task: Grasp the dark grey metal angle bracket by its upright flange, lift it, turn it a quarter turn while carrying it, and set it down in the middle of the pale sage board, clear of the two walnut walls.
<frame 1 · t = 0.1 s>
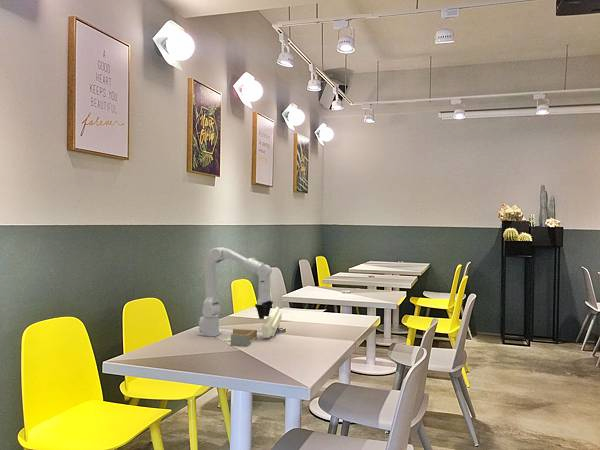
hand: (264, 317, 246), 10 cm above the table, tool pointing down, fingers open, 7 cm apart
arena: (240, 339, 243), on the table
angle bracket: (239, 345, 231), on the table
shelf bracket: (272, 335, 255), on the table
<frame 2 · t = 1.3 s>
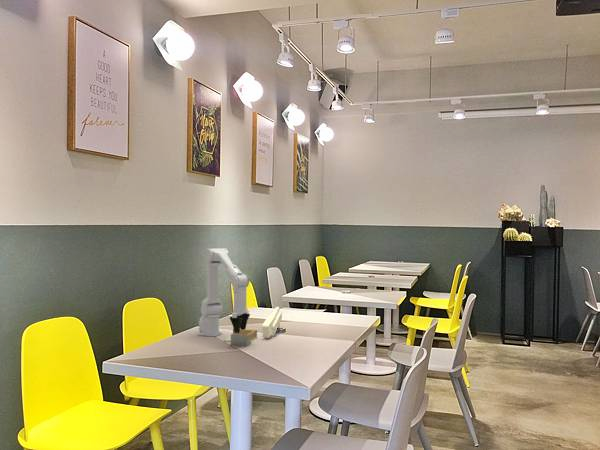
hand: (239, 331, 231), 7 cm above the table, tool pointing down, fingers open, 7 cm apart
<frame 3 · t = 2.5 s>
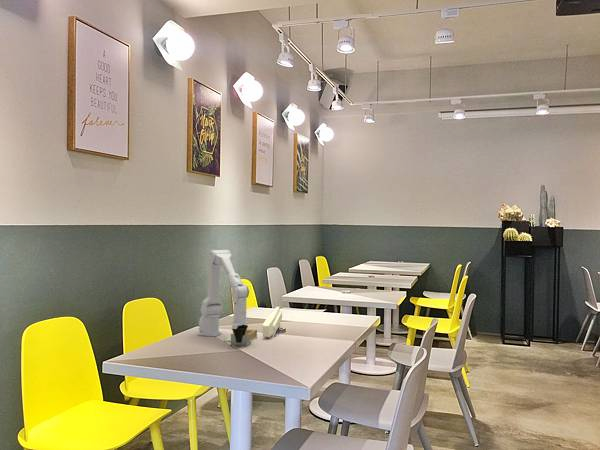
hand: (239, 341, 231), 2 cm above the table, tool pointing down, fingers closed on angle bracket
angle bracket: (239, 345, 231), on the table, touching gripper
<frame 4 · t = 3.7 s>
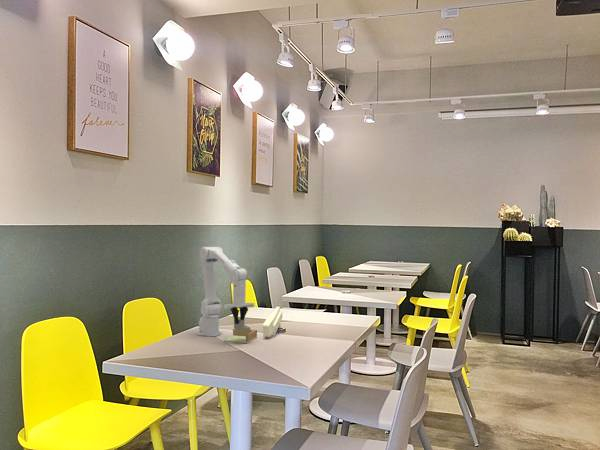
hand: (239, 323, 237), 9 cm above the table, tool pointing down, fingers closed on angle bracket
angle bracket: (239, 329, 237), point 6 cm above the table, touching gripper
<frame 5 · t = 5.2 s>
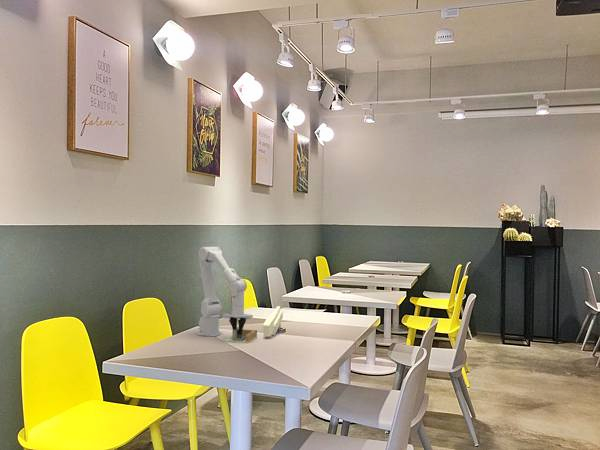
hand: (237, 333, 242), 3 cm above the table, tool pointing down, fingers closed on angle bracket
angle bracket: (237, 338, 241), point 1 cm above the table, touching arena, gripper
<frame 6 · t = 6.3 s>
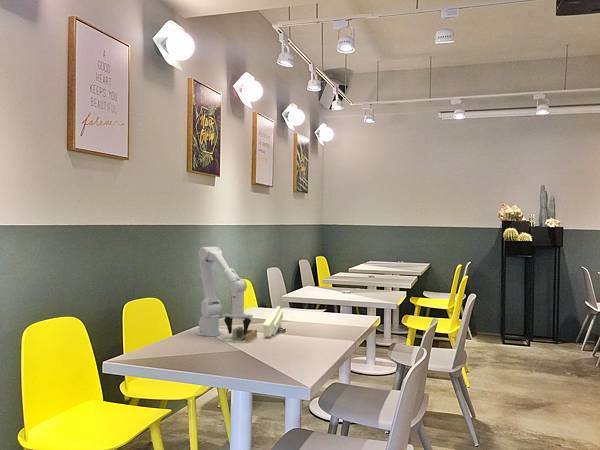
hand: (237, 333, 242), 3 cm above the table, tool pointing down, fingers open, 7 cm apart
angle bracket: (237, 338, 241), point 1 cm above the table, touching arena
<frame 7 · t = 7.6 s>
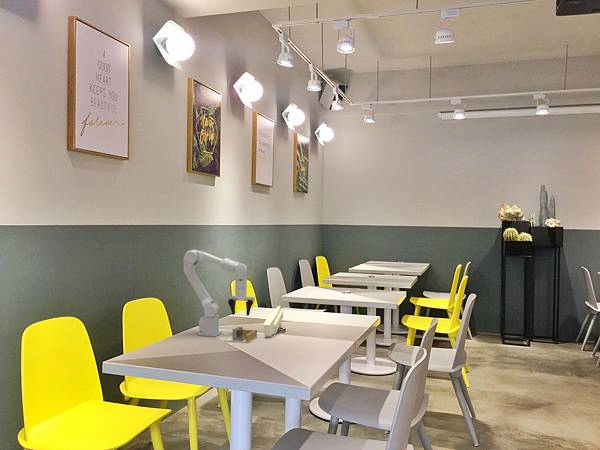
hand: (240, 314, 253), 10 cm above the table, tool pointing down, fingers open, 7 cm apart
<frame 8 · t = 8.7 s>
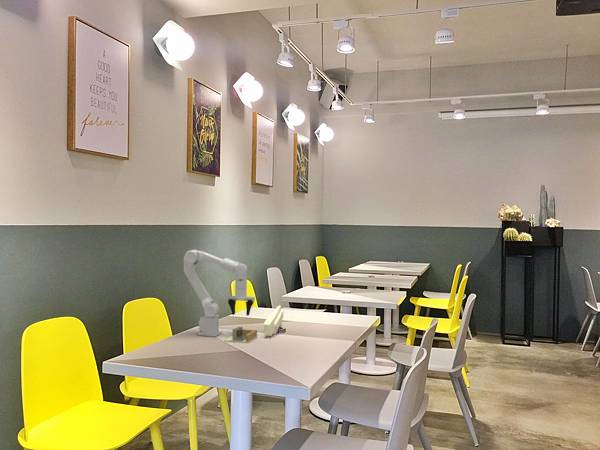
hand: (240, 314, 253), 10 cm above the table, tool pointing down, fingers open, 7 cm apart
at the end: angle bracket inside the target area on the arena (0.2 cm from its centre), point 0.6 cm above the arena's base; angle bracket tilted 0°; angle bracket moved 11.0 cm from its start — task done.
